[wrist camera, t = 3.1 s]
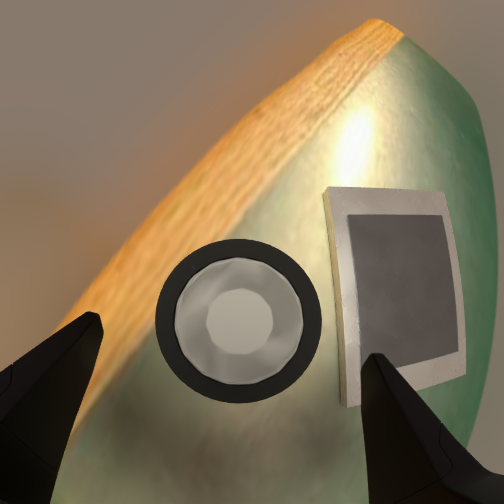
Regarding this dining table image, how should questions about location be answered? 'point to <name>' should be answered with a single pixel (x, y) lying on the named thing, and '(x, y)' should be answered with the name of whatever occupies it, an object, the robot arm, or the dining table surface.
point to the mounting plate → (395, 285)
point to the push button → (238, 321)
